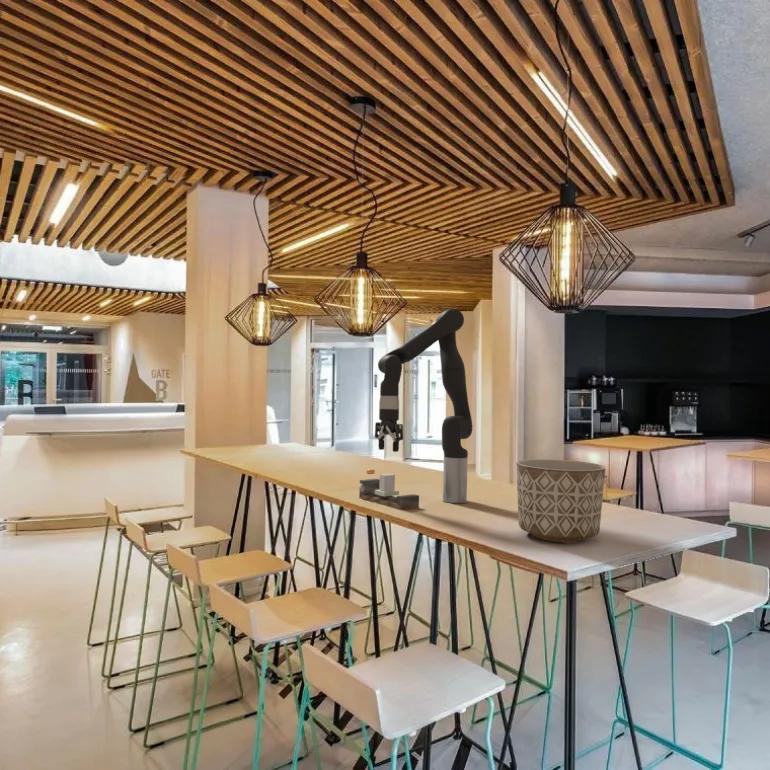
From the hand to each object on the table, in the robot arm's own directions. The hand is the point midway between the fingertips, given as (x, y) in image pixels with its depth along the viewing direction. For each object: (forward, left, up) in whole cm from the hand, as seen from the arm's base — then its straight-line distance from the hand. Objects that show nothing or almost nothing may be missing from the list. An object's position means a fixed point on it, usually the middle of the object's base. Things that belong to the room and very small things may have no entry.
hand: (388, 450), depth 236 cm
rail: (0, 0, -20) cm, 20 cm away
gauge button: (+8, -9, -10) cm, 16 cm away
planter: (-58, +39, -20) cm, 73 cm away
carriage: (0, -1, -17) cm, 17 cm away
